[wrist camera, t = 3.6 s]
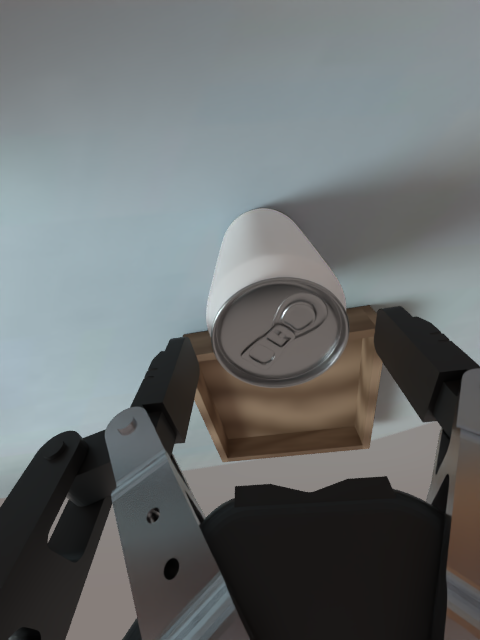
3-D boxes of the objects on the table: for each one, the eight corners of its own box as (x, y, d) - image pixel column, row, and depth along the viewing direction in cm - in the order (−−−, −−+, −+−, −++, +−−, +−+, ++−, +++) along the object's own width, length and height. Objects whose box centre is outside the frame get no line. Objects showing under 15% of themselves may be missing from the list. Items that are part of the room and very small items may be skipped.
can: (318, 240, 20) (396, 327, 10) (267, 298, 23) (286, 411, 13) (253, 187, 18) (267, 226, 8) (206, 258, 21) (172, 354, 11)
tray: (183, 334, 25) (175, 358, 22) (369, 305, 23) (387, 326, 20) (224, 436, 35) (222, 462, 32) (358, 422, 33) (369, 448, 30)
